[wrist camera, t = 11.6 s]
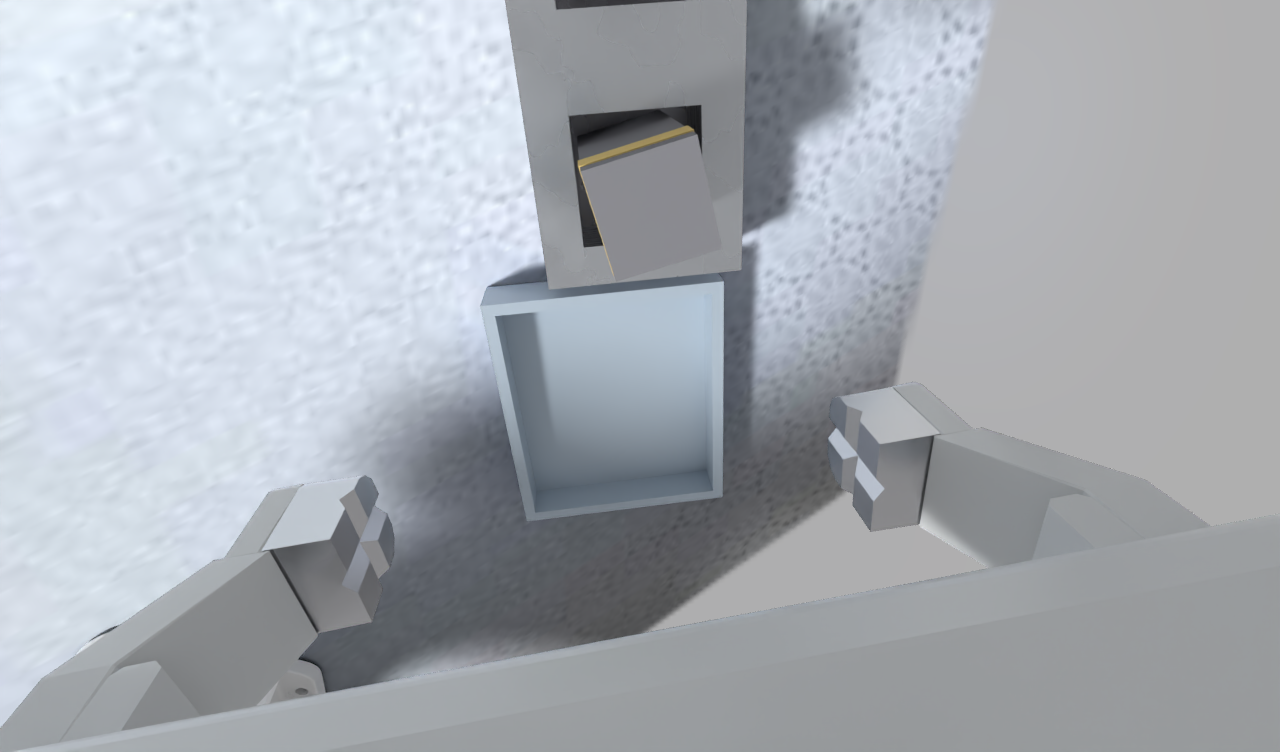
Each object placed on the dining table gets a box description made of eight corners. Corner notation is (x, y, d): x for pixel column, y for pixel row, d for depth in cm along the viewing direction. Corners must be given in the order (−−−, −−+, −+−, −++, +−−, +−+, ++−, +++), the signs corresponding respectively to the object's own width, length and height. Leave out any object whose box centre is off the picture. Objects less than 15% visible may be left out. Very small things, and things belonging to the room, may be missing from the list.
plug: (681, 195, 29) (723, 249, 21) (602, 220, 29) (614, 283, 21) (660, 108, 27) (698, 132, 19) (575, 135, 27) (578, 170, 19)
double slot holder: (721, 245, 31) (741, 270, 27) (551, 262, 30) (548, 289, 27) (723, -223, 22) (752, -275, 18) (481, -212, 21) (465, -263, 18)
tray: (713, 470, 38) (722, 497, 36) (529, 493, 37) (526, 521, 35) (712, 264, 31) (723, 281, 29) (486, 287, 31) (480, 306, 28)
